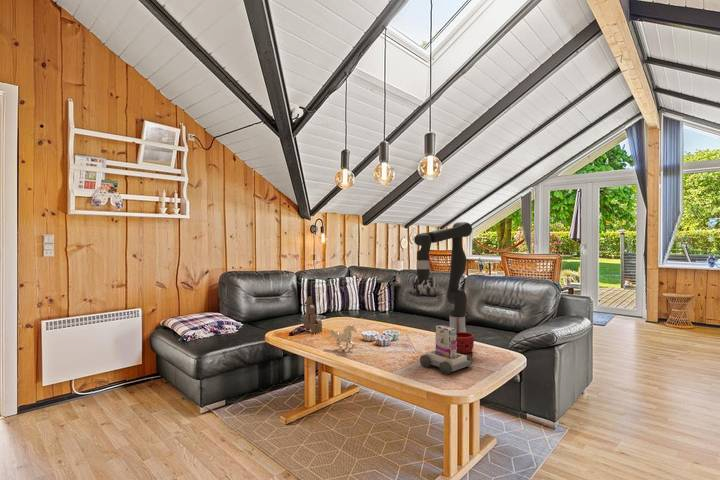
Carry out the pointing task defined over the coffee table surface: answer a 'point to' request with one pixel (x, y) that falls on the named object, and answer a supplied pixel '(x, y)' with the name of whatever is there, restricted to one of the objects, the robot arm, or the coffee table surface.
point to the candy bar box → (446, 342)
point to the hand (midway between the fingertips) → (423, 295)
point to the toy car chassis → (445, 361)
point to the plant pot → (465, 343)
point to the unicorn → (344, 336)
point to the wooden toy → (311, 318)
